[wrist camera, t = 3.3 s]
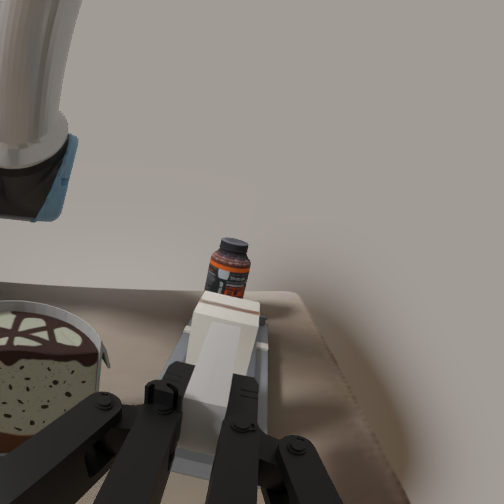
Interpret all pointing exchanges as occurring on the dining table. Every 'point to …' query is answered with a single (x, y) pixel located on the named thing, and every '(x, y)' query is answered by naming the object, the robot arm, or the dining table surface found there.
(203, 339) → the fader tab
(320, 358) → the dining table surface
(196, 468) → the board
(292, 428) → the dining table surface
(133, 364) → the dining table surface
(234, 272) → the supplement bottle
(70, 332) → the food container
